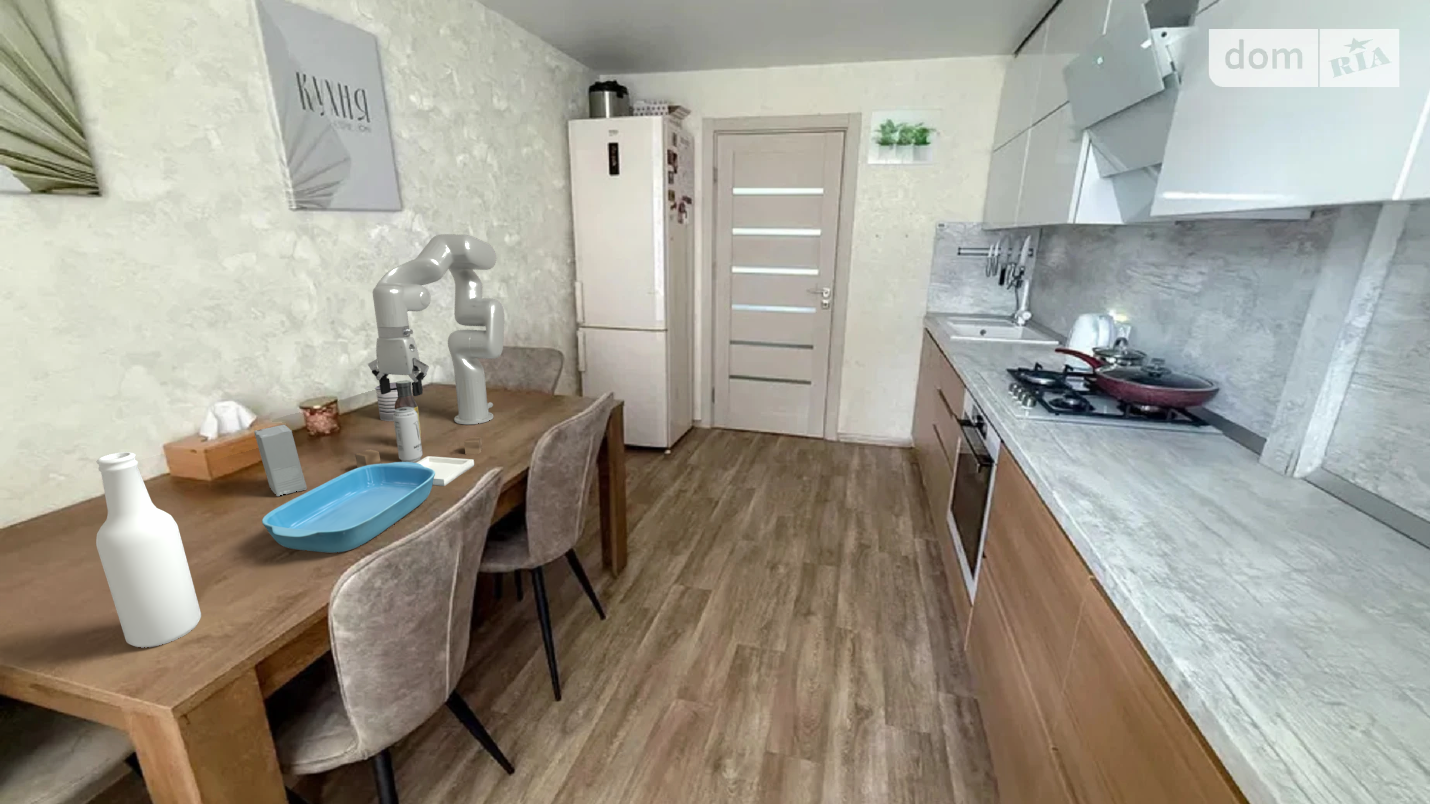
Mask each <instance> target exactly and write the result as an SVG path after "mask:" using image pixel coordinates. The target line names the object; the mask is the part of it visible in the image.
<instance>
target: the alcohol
mask: <svg viewBox="0 0 1430 804" xmlns="http://www.w3.org/2000/svg"><path fill="white" fill-rule="evenodd" d="M136 456H137V455H136V453H134V452H130V451H122V452H114V453H110V454H106V455H103V456H101V457H99V458H98V459H97V460H95V461H96V464H97V465H98V468H97V469H98V472H100V474H101V478H102V479H101V480H102V485H103V486H102V487H103V491H104V496H105V502H106V509H107V515H106V516H107V517H106V520H105V521H104V523H102V525H101V526H100V528H99V530H98V531H97V533H96V541H95V542H96V543H95V545H96V549H97V552H98V556H99V558H100V562H101V565H102V568H103V571H104V575H105V577H106V581H107V584H108V586H109V587H108V588H109V590H110V594H111V597H112V600H113V604H114V607H115V610H116V613H117V616H118V620H119V623H120V625H121V629H122V633H123V636H124V639H125V641H126V643H127V644H128V645H131V646H133V647H135V648H138V647H141V648H140V649H148V648H147V647H149V648H155V647H158V646H159V645H160V646H162V644H163V645H165V644H169V643H172V642H174V641H176V640H179V639H181V638H183V637H184V636H186V635H187V634H189V633H190V632H192V631H193V630H194V629H195V628H197V626H198V624H199V621H200V620H201V618H202V612H201V608H200V605H199V601H198V597H197V594H196V590H195V585H194V582H193V578H192V574H191V570H190V567H189V563H188V560H187V555H186V553H185V552H186V551H185V548H184V544H183V541H182V537H181V534H180V530H179V529H180V528H179V526H178V524H177V522H176V521H175V519H174V517H173V516H172V514H170V513H168V512H166V511H164V510H163V509H160V508H158V507H157V506H156V505H155V504H154V503H153V501H152V499H151V497H150V494H149V491H148V490H147V487H146V485H145V482H144V479H143V477H142V475H141V472H140V469H139V468H138V464H139V462H138V460H137V459H136ZM191 630H192V631H191ZM180 637H181V638H180ZM178 638H179V639H178ZM171 641H172V642H171ZM144 647H145V648H144Z"/></svg>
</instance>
